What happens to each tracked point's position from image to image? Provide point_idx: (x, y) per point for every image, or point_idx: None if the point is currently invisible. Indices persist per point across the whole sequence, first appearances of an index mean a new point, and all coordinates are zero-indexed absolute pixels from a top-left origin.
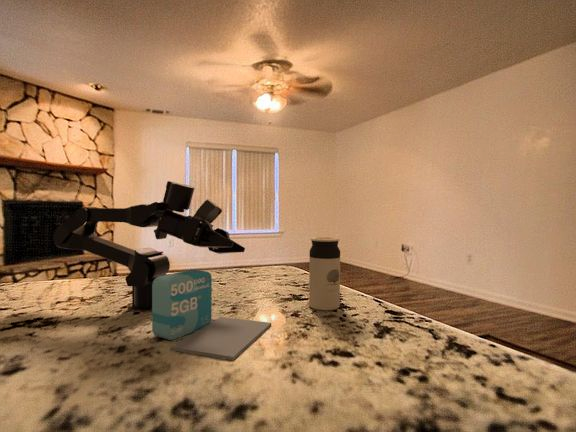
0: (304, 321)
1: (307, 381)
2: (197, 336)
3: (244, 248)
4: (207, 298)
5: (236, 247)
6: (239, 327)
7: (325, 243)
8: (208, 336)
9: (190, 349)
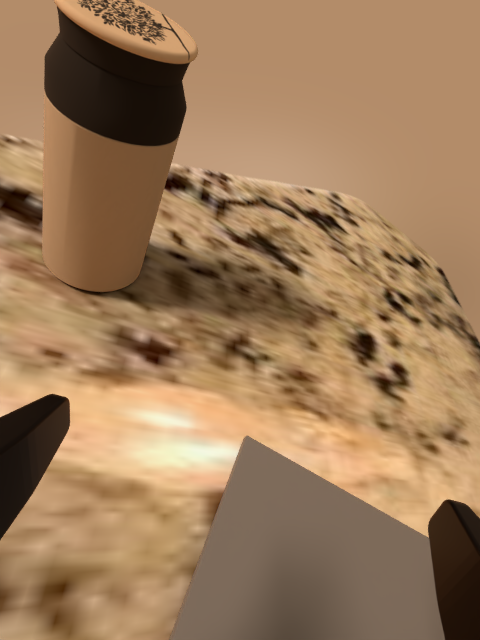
0: (214, 348)
1: (457, 423)
2: None
3: (66, 400)
4: None
5: (5, 490)
6: (288, 544)
7: (186, 68)
8: None
9: None
